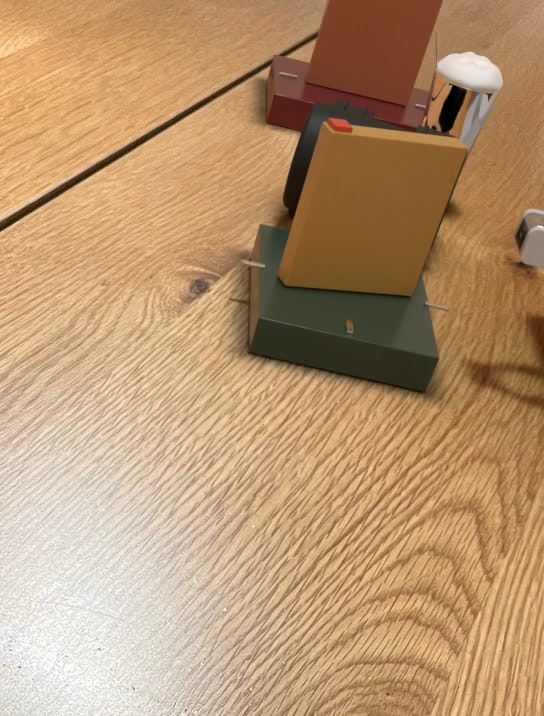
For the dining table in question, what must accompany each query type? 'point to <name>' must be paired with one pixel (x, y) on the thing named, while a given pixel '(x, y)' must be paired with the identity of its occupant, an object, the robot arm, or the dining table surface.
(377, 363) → the green pinned base
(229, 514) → the dining table surface
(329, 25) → the upright brown plank
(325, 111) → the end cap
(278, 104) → the dark red base box
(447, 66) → the milkshake
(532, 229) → the robot arm
